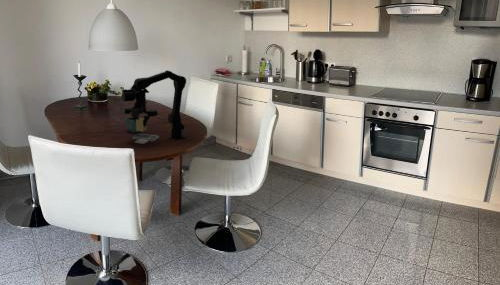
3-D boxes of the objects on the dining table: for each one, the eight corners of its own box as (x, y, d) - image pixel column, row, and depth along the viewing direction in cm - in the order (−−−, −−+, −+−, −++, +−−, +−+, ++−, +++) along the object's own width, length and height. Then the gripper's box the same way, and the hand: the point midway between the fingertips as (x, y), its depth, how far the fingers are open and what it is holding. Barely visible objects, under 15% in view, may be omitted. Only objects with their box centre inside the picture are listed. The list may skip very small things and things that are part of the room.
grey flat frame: (159, 138, 235) (159, 135, 235) (153, 141, 228) (153, 138, 227) (138, 135, 238) (138, 133, 237) (132, 138, 230) (132, 136, 230)
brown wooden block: (146, 129, 225) (146, 118, 223) (143, 131, 221) (142, 120, 219) (139, 128, 226) (139, 117, 224) (136, 130, 222) (135, 119, 220)
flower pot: (136, 129, 252) (136, 116, 250) (144, 131, 247) (143, 118, 245) (125, 131, 246) (124, 118, 243) (132, 134, 241) (132, 120, 238)
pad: (148, 141, 228) (148, 140, 228) (144, 143, 222) (143, 142, 222) (139, 140, 229) (139, 139, 229) (134, 142, 223) (134, 141, 223)
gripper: (118, 101, 212) (120, 127, 217) (149, 104, 209) (149, 131, 213) (128, 98, 223) (129, 123, 227) (157, 101, 219) (158, 126, 224)
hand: (141, 126), depth 223 cm, fingers closed on brown wooden block, 4 cm apart
